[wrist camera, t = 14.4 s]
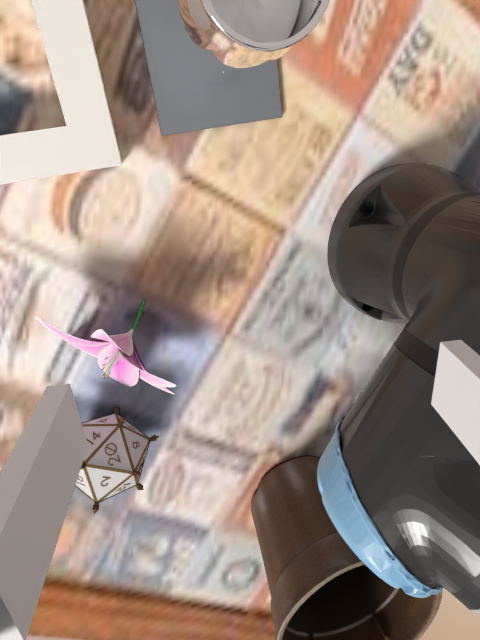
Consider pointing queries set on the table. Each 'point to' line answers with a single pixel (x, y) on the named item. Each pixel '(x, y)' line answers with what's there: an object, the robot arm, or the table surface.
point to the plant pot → (324, 569)
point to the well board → (65, 104)
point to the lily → (115, 355)
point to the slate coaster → (198, 98)
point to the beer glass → (237, 34)
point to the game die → (111, 457)
